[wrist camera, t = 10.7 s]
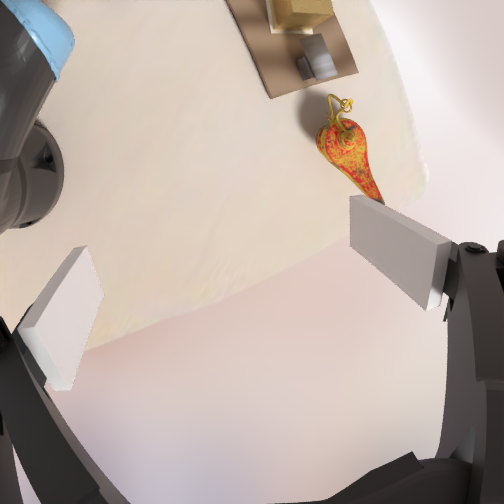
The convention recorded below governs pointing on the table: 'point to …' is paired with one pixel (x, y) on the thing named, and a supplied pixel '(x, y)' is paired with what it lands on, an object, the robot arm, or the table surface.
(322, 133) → the magic lamp
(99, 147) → the table surface
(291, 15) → the block
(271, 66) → the shaft bench
